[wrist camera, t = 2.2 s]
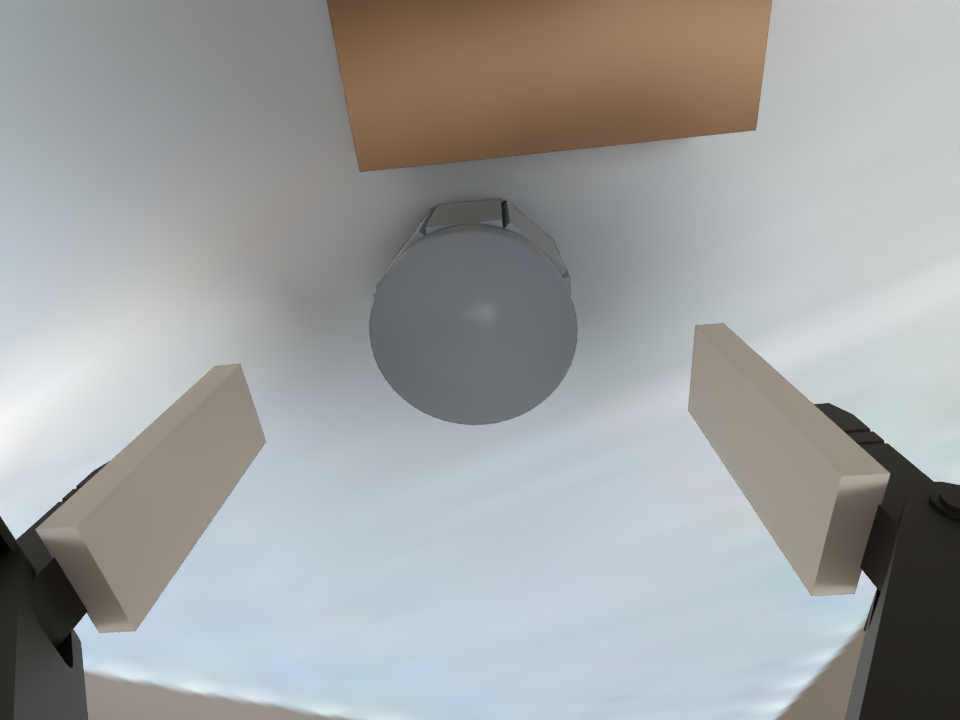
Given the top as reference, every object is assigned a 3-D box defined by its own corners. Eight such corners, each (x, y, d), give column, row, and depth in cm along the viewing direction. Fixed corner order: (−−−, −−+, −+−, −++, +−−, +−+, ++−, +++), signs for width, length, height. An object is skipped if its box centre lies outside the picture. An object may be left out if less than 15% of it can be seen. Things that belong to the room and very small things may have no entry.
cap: (385, 209, 21) (349, 244, 16) (554, 193, 21) (575, 223, 16) (412, 359, 25) (389, 431, 19) (559, 348, 24) (579, 417, 19)
